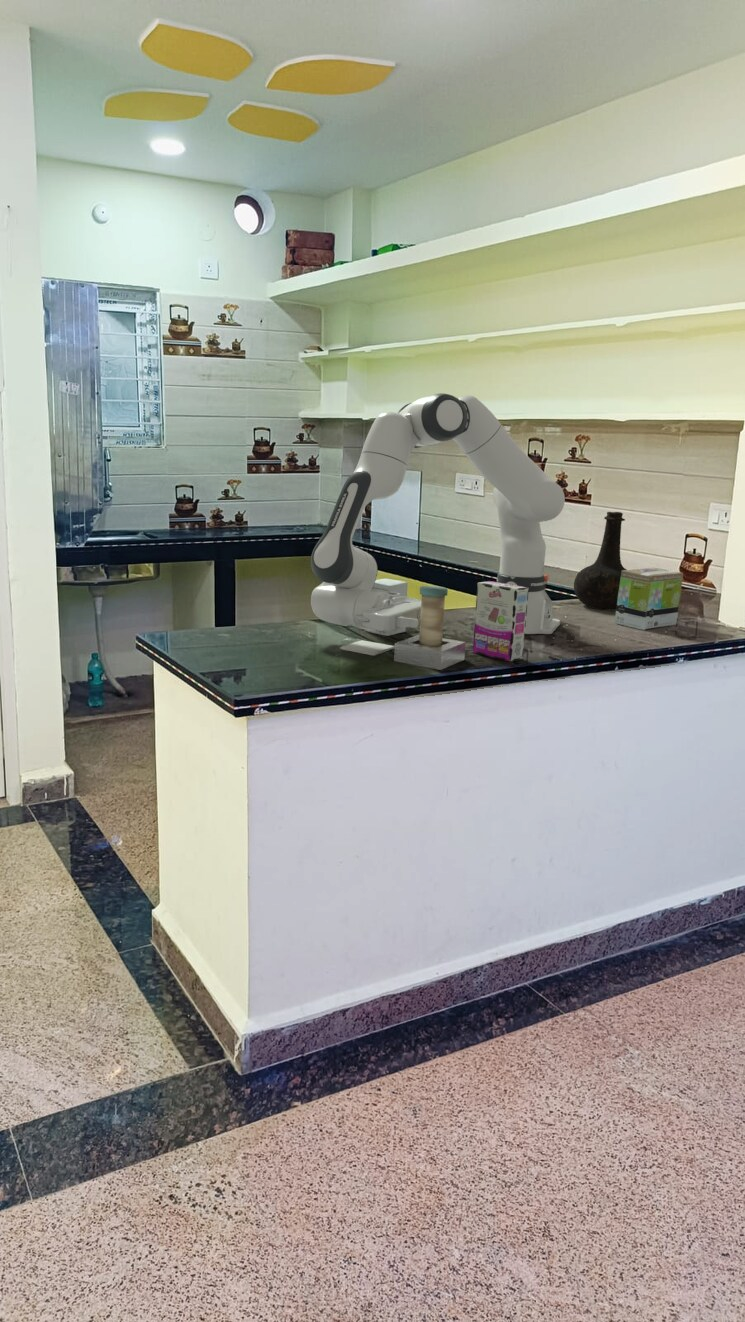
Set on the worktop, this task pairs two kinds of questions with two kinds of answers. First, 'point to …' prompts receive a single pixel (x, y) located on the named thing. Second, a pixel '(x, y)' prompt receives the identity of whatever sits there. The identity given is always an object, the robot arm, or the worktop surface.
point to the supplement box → (390, 587)
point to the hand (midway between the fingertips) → (429, 620)
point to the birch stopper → (432, 615)
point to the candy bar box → (500, 620)
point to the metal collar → (429, 653)
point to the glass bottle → (603, 569)
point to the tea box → (648, 598)
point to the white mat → (367, 647)
